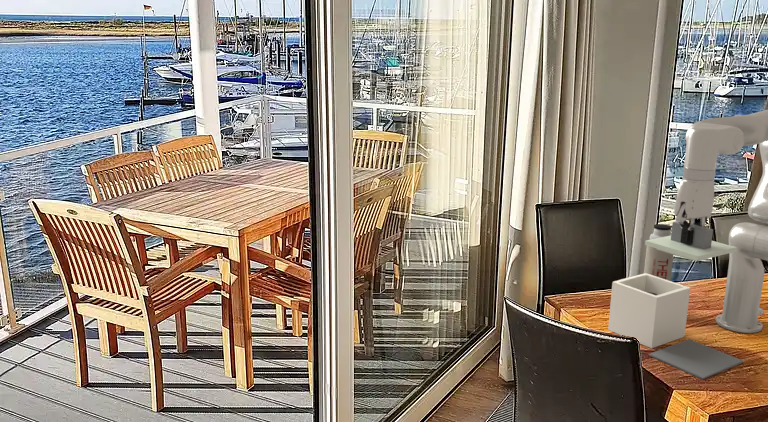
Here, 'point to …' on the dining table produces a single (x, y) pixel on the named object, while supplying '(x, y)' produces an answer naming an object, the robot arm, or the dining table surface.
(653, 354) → the mat
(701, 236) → the lid
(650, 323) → the storage box
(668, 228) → the thermos bottle
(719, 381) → the dining table surface
